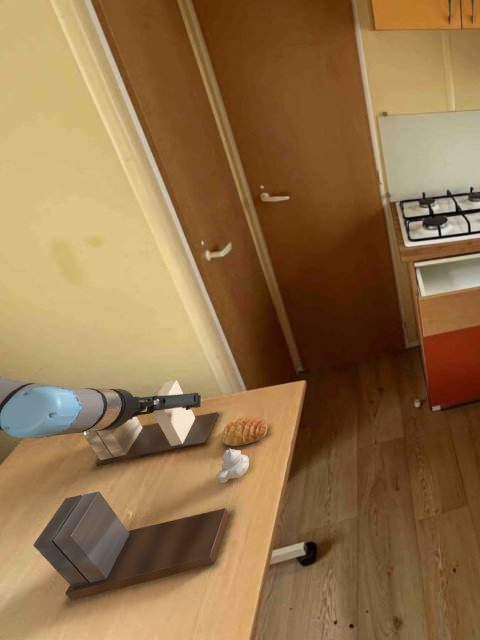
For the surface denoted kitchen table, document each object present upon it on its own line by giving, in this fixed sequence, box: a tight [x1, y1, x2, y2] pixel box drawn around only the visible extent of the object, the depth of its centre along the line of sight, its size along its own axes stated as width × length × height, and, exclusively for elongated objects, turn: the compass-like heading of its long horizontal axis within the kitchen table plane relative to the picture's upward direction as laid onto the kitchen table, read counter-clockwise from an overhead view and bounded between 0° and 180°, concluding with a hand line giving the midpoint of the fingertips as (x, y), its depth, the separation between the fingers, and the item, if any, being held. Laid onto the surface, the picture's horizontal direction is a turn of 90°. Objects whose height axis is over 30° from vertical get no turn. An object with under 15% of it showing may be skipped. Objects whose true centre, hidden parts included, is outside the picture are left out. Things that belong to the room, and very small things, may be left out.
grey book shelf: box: [32, 490, 231, 602], centre depth 76 cm, size 22×9×16 cm, turn 105°
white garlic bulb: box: [216, 447, 250, 483], centre depth 92 cm, size 5×7×8 cm
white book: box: [152, 379, 196, 446], centre depth 100 cm, size 2×8×13 cm, turn 15°
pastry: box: [221, 417, 268, 447], centre depth 103 cm, size 9×7×4 cm
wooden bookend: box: [81, 411, 219, 467], centre depth 100 cm, size 22×9×14 cm, turn 105°
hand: (165, 407), depth 98 cm, fingers open, 13 cm apart
